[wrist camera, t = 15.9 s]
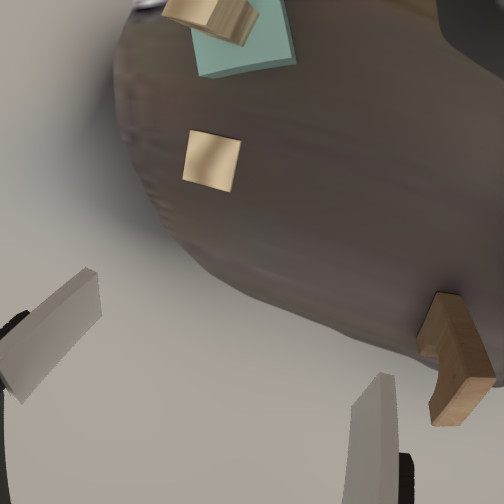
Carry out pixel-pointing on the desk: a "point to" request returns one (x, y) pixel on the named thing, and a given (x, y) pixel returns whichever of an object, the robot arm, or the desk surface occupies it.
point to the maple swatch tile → (211, 160)
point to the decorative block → (454, 360)
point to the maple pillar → (215, 18)
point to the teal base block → (248, 45)
